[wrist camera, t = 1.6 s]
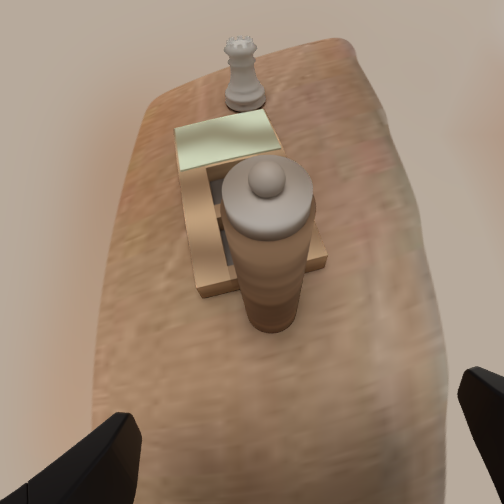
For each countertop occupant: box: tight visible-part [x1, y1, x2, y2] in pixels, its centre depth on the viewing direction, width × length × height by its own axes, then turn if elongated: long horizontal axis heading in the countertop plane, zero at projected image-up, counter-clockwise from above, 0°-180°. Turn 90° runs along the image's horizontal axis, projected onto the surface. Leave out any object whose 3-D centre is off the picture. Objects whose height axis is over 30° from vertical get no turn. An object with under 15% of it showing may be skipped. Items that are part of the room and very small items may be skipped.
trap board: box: [173, 109, 328, 298], centre depth 26 cm, size 16×9×2 cm, turn 14°
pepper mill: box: [220, 155, 316, 333], centre depth 16 cm, size 3×3×14 cm
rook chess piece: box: [224, 36, 266, 112], centre depth 29 cm, size 4×4×8 cm
